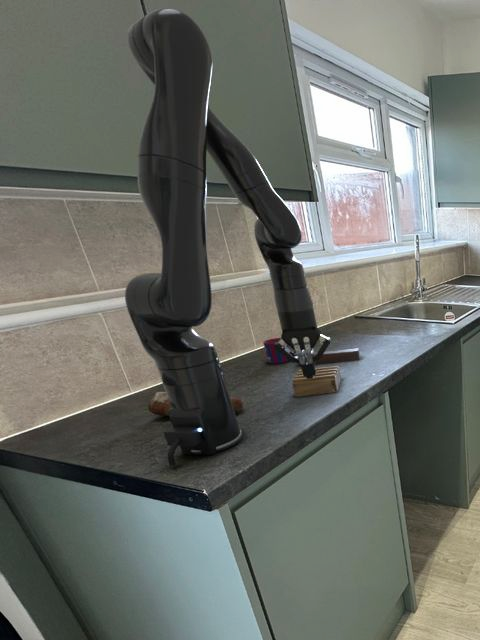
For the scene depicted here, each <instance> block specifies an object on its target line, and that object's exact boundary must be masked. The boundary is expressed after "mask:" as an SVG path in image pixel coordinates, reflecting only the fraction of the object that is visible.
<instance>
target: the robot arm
mask: <svg viewBox="0 0 480 640" xmlns="http://www.w3.org/2000/svg"><path fill="white" fill-rule="evenodd" d="M126 42H127V45H128V49H129V51H130V53H131V55H132V57H133V58H134V60H135V62H136V63H137V64H138V66H139V68H140V69H141V70H142V72H143V73H144V74H145V75H146V77H147V78H148V79H149V80H150V82H151V83H152V84H153V85H154V90H153V91H154V92H153V97H152V101H151V104H150V106H149V107H150V108H149V110H148V112H147V116H146V117H145V121H144V123H143V126H142V129H141V133H140V137H139V142H138V145H137V156H136V158H137V160H136V161H137V188H138V192H139V195H140V198H141V200H142V202H143V204H144V207H145V209H146V210H147V212H148V215H149V216H150V218H151V220H152V222H153V223H154V225H155V227H156V229H157V232H158V235H159V237H160V242H161V243H160V244H161V272H158V273H155V272H154V273H152V272H151V273H141V274H139V275H136V276H134V277H133V278H131V279H130V280H129V282H128V283H127V285H126V287H125V292H124V301H125V307H126V309H127V312H128V315H129V317H130V320H131V322H132V325H133V327H134V329H135V332H136V334H137V336H138V338H139V341H140V343H141V346H142V347H143V349H144V351H145V352H146V353H147V355H148V356H149V357H150V358H152V360H153V361H154V363H155V366H156V369H157V371H158V374H159V377H160V379H161V382H162V385H163V388H164V390H165V391H164V392H166V394H167V397H168V399H169V402H170V405H171V408H170V409H168V414H169V416H168V418H169V420H170V422H171V427H170V428H168V429H166V430H164V431H163V432H162V433H163V436H164V438H165V441H166V443H167V446H168V447H169V449H168V451H167V461H168V464H169V466H171V467H175V466H176V465H177V463H176V459H175V452H176V450H177V448H178V447H180V450H181V453H182V455H183V456H185V455H186V456H187V455H189V456H192V455H193V456H212V455H215V454H217V453H218V452H221V451H224V450H227V449H229V448H231V447H233V446H235V445H237V444H238V443H239V442H241V440H242V439H243V433H242V430H241V428H240V426H239V422H238V418H237V416H236V415H237V414H236V413H235V412H234V408H233V405H232V402H231V399H230V397H231V395H230V393H229V389H228V386H227V382H226V379H225V376H224V373H223V368H222V365H221V362H220V359H219V356H218V355H219V354H218V351H217V349H216V346H215V345H214V343H213V342H211V341H209V340H208V339H206V338H205V337H202V336H201V335H200V334H198V333H197V332H196V331H195V330H194V328H195V327H198V326H201V325H202V324H204V323H205V321H207V319H208V318H209V316H210V314H211V310H212V306H213V305H212V304H213V294H212V283H211V275H210V268H209V267H210V266H209V258H208V245H207V242H208V241H207V240H208V239H207V237H208V236H207V198H208V197H207V196H208V173H207V169H208V168H207V154H208V156H209V157H210V158H211V159H212V161H213V163H214V165H215V166H216V167H217V169H218V171H219V172H220V174H221V175H222V177H223V178H224V180H225V181H226V183H227V185H228V186H229V188H230V189H231V191H232V193H233V194H234V196H235V197H236V199H237V200H238V202H239V203H240V204H241V205H242V206H244V207H246V208H248V209H250V210H251V211H252V212H253V214H254V215H255V216H256V218H257V219H256V220H255V222H254V226H253V231H254V232H253V233H254V239H255V241H256V245H257V247H258V250H259V251H260V254H261V256H262V259H263V261H264V262H265V264H266V267H267V269H268V271H269V277H270V282H271V285H272V289H273V299H274V303H275V308H276V311H277V316H278V319H279V324H280V329H281V335H280V338H282V339H281V340H280V341H279V342H276V343H275V345H274V346H273V347H274V349H276V350H277V351H278V352H279V353H281V354H282V355H283V356H284V357H286V358H287V359H288V360H290V361H289V362H291V363H292V364H298V363H299V364H300V365H301V366H300V367H301V370H302V372H303V375H304V377H306V378H307V379H309V378H314V375H316V368H317V367H316V364H315V363H314V362H315V361H318V360H320V358H321V357H322V355H323V353H324V352H326V351H327V349H328V347H329V345H330V344H331V341H332V338H331V337H329V336H325V335H323V334H322V332H321V330H320V329H319V327H318V324H317V323H318V322H317V319H316V315H315V310H314V302H313V300H312V296H311V292H310V290H309V287H308V283H307V282H308V281H307V278H306V273H305V268H304V267H303V264H302V262H300V261H299V260H298V259H296V257H295V256H294V253H293V250H292V249H294V248H296V247H298V246H299V245H300V243H301V241H302V238H303V234H302V233H303V231H302V227H301V225H300V223H299V221H298V219H297V217H296V216H295V214H294V213H293V212H292V211H291V209H290V208H289V207H288V206H287V204H286V203H285V201H284V200H283V199H282V198H281V197H280V196H279V195H278V194H277V192H276V191H275V190H274V188H273V187H272V185H271V182H270V181H269V179H268V177H267V176H266V174H265V172H264V171H263V169H262V167H261V165H260V164H259V162H258V160H257V159H256V157H255V156H254V154H253V153H252V152H251V150H250V149H249V148H248V146H247V145H246V144H245V143H244V142H243V141H242V140H241V139H240V137H238V136H237V135H236V134H235V133H234V132H233V131H232V130H231V129H230V128H229V127H228V126H227V125H226V124H225V123H224V122H223V120H222V119H220V117H219V116H217V114H216V113H215V112H214V111H213V109H212V108H211V107H210V105H209V95H210V87H211V80H212V74H213V54H212V49H211V46H210V43H209V41H208V39H207V37H206V34H205V33H204V31H203V29H201V27H200V25H199V24H198V23H197V22H196V21H195V20H194V19H193V18H192V17H191V16H189V14H187V13H186V12H183V11H181V10H179V9H177V8H173V7H162V8H157V9H155V10H152V11H150V12H148V13H147V14H145V15H144V16H142V17H141V18H139V19H137V20H136V21H135V22H133V23H132V24H131V25H130V27H129V28H128V30H127V33H126ZM318 341H319V344H320V345H321V346H320V348H319V349H318V351H317V354H315V355H314V353H315V352H314V348H315V346H316V345H317V343H318ZM286 343H287V344H288V345H289V349H290V348H291V349H292V350H293V351H292V350H291V349H290V350H289V349H288V348H287V345H286ZM294 351H296V353H295V354H294V353H293V352H294ZM305 354H306V355H305ZM306 356H307V358H306Z"/></svg>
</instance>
